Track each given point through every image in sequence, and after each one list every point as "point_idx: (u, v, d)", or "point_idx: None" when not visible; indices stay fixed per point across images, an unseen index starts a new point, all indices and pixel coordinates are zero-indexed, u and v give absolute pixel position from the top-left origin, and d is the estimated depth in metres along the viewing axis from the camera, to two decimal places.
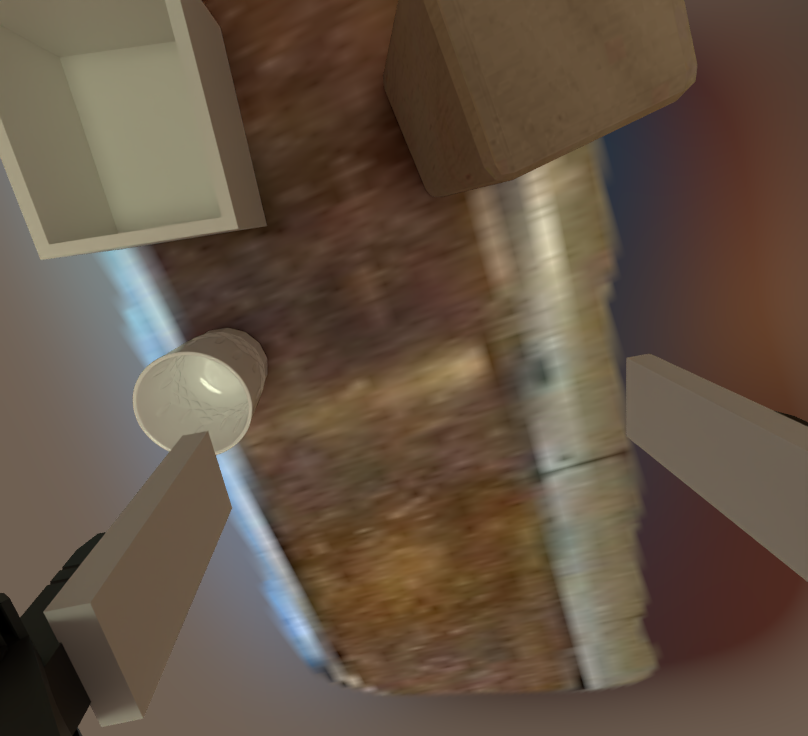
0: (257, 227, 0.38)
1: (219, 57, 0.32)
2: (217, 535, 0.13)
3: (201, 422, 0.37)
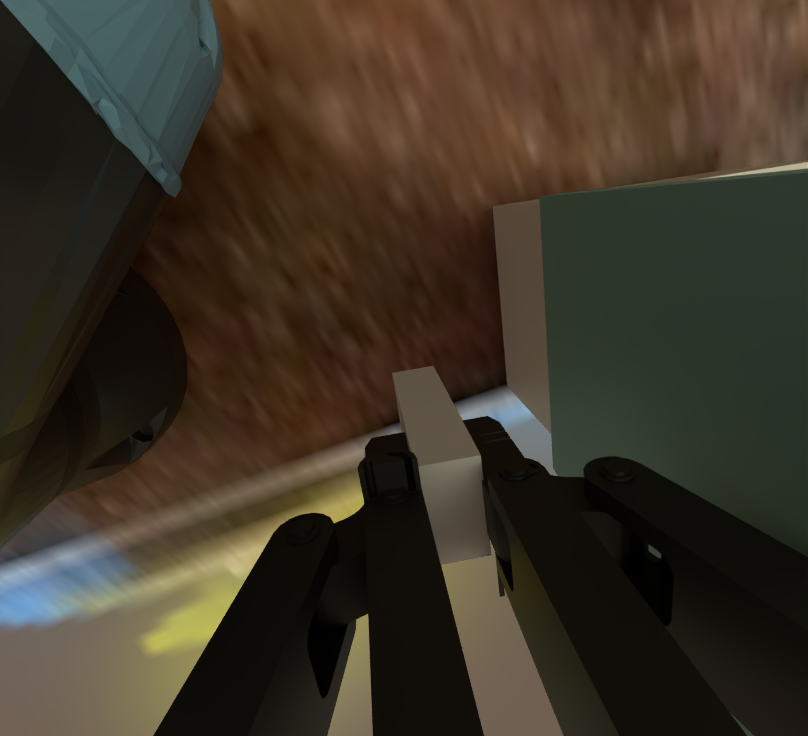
0: None
1: None
2: None
3: None
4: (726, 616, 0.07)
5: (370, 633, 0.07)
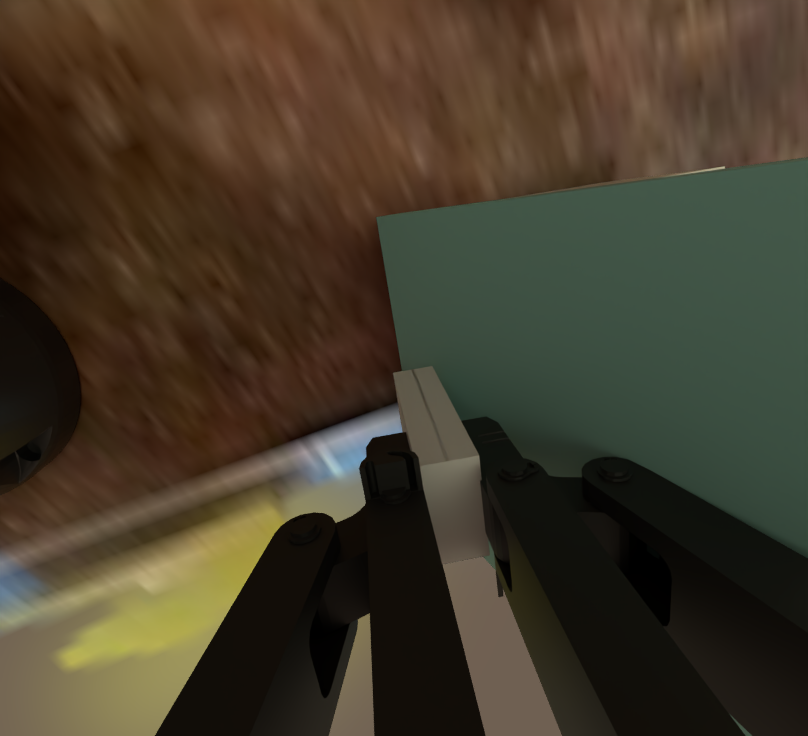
0: None
1: None
2: None
3: None
4: (724, 616, 0.07)
5: (371, 633, 0.07)
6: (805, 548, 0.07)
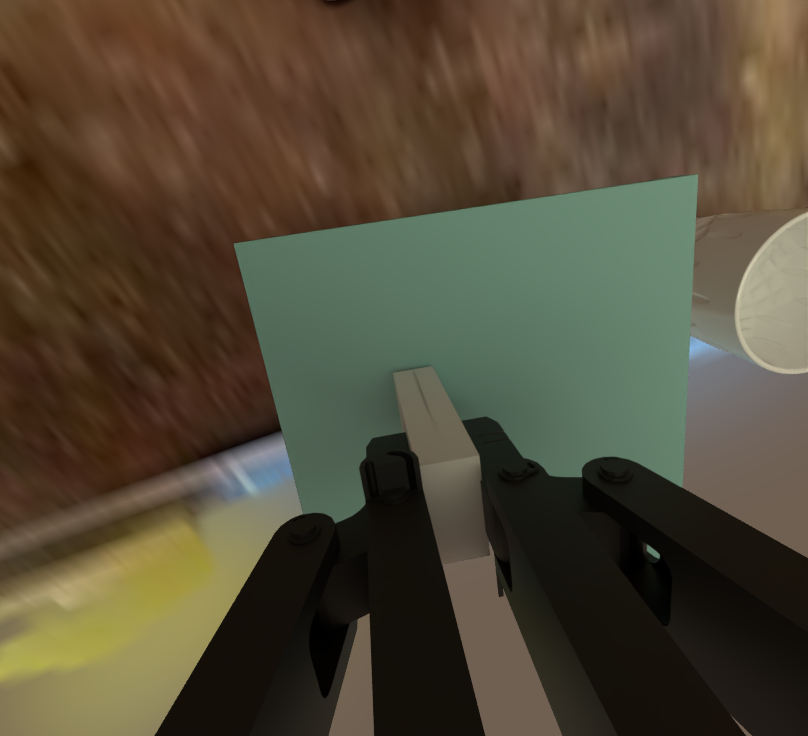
0: None
1: None
2: None
3: (787, 301, 0.27)
4: (724, 617, 0.07)
5: (371, 633, 0.07)
6: (681, 364, 0.14)
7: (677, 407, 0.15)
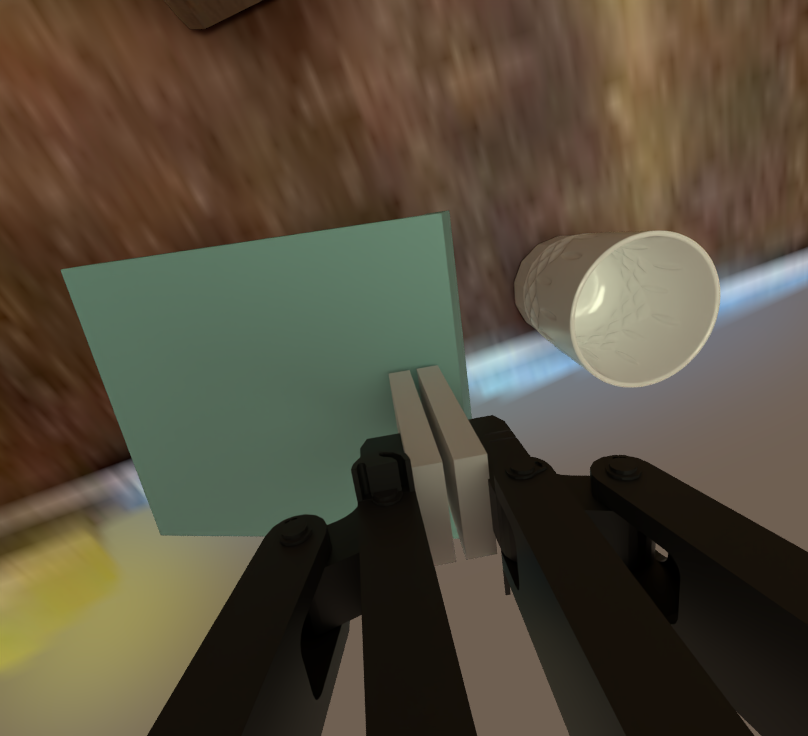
0: None
1: None
2: None
3: (646, 317, 0.28)
4: (733, 615, 0.07)
5: (363, 635, 0.06)
6: (454, 370, 0.17)
7: None
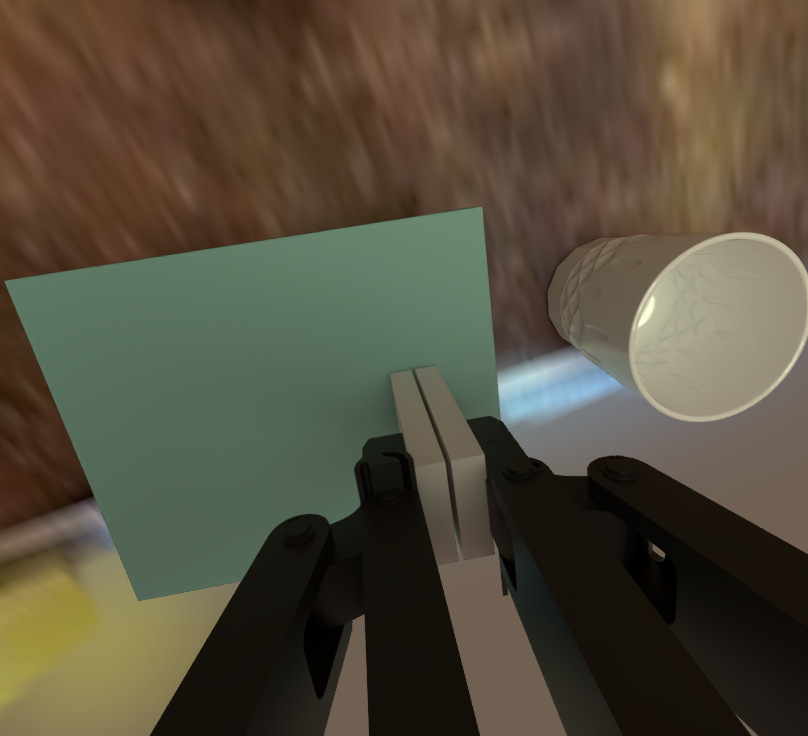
0: None
1: None
2: None
3: (708, 334, 0.24)
4: (730, 615, 0.07)
5: (366, 634, 0.06)
6: (490, 362, 0.17)
7: (492, 398, 0.17)
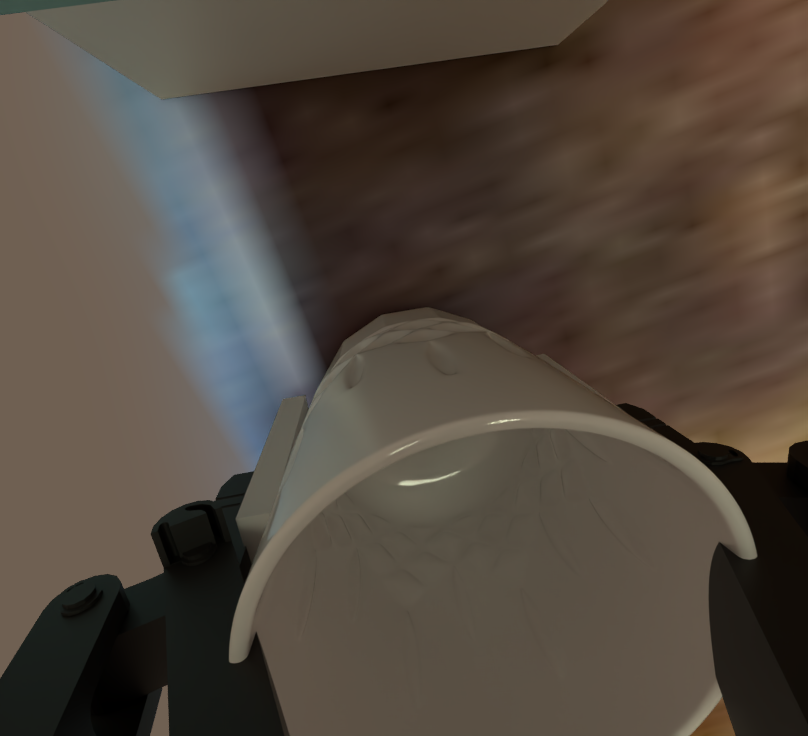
0: (533, 47, 0.14)
1: None
2: None
3: (398, 599, 0.12)
4: None
5: (170, 722, 0.06)
6: None
7: None
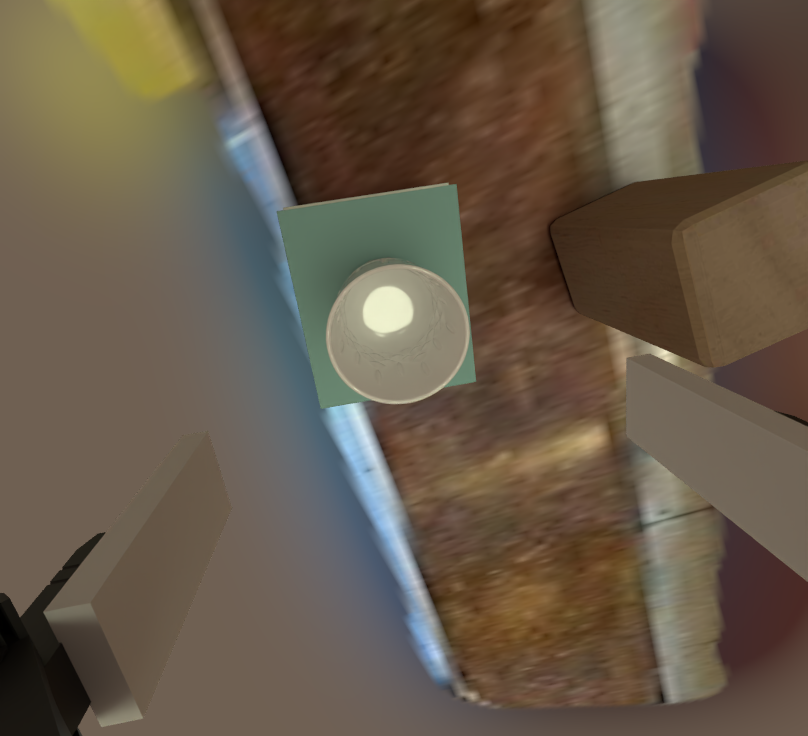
0: None
1: None
2: (217, 535, 0.13)
3: (374, 366, 0.31)
4: None
5: None
6: None
7: None
